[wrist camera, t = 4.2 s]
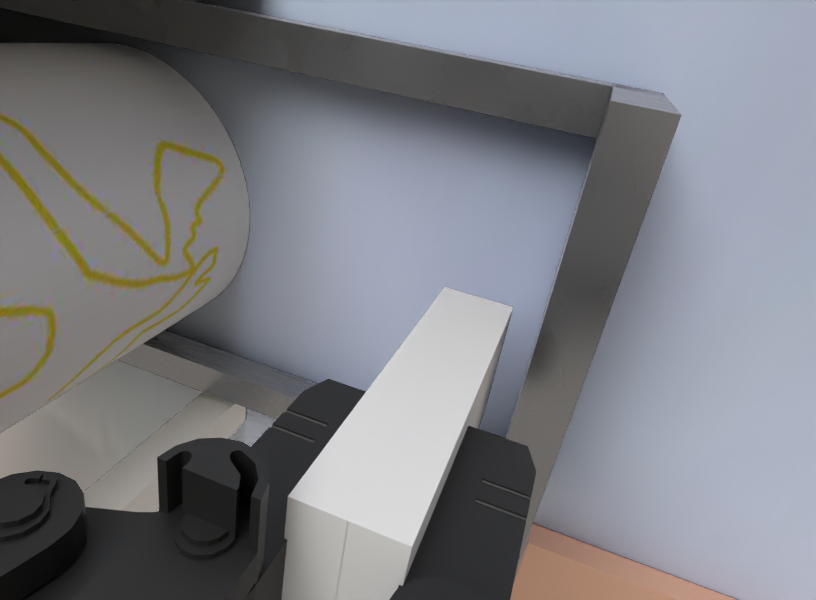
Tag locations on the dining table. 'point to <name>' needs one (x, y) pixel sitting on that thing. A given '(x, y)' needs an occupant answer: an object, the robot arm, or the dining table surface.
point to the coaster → (592, 574)
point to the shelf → (137, 472)
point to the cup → (105, 211)
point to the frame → (457, 87)
